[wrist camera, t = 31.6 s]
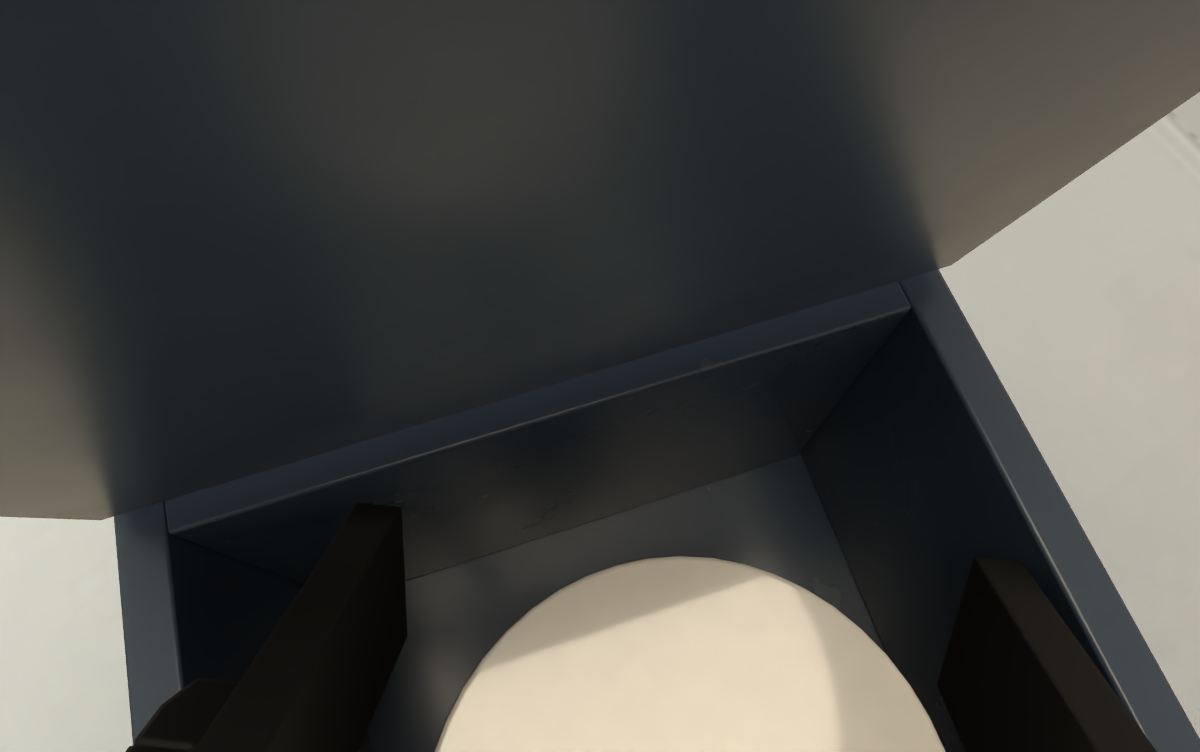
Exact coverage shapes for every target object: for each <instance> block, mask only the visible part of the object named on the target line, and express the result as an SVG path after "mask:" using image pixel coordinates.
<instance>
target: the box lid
mask: <svg viewBox="0 0 1200 752" xmlns="http://www.w3.org/2000/svg"><path fill="white" fill-rule="evenodd" d="M1198 92H1200V0H0V516H2V517H29V518H57V519H84V520H103V519H106V518H110V517H113V516H116V515H120V514H123V513H126V512H130V511H133V510H136V509H140V508H143V507H146V506H150V505H153V504H156V503H160V502H163V501H166V500H170V499H173V498H176V497H180V496H183V495H186V494H190V493H193V492H196V491H200V490H203V489H206V488H210V487H213V486H216V485H220V484H223V483H226V482H230V481H233V480H236V479H240V478H243V477H246V476H250V475H253V474H256V473H260V472H263V471H266V470H270V469H273V468H276V467H280V466H283V465H286V464H290V463H293V462H296V461H300V460H303V459H306V458H310V457H313V456H316V455H320V454H323V453H326V452H330V451H333V450H336V449H340V448H343V447H346V446H350V445H353V444H356V443H360V442H363V441H366V440H370V439H373V438H376V437H380V436H383V435H386V434H390V433H393V432H396V431H400V430H403V429H406V428H410V427H413V426H416V425H420V424H423V423H426V422H430V421H433V420H436V419H440V418H443V417H446V416H450V415H453V414H456V413H460V412H463V411H466V410H470V409H473V408H476V407H480V406H483V405H486V404H490V403H493V402H496V401H500V400H503V399H506V398H510V397H513V396H516V395H520V394H523V393H526V392H530V391H533V390H536V389H540V388H543V387H546V386H550V385H553V384H556V383H560V382H563V381H566V380H570V379H573V378H576V377H580V376H583V375H586V374H590V373H593V372H596V371H600V370H603V369H606V368H610V367H613V366H616V365H620V364H623V363H626V362H630V361H633V360H636V359H640V358H643V357H646V356H650V355H653V354H656V353H660V352H663V351H666V350H670V349H673V348H676V347H680V346H683V345H686V344H690V343H693V342H696V341H700V340H703V339H706V338H710V337H713V336H716V335H720V334H723V333H726V332H730V331H733V330H736V329H740V328H743V327H746V326H750V325H753V324H756V323H760V322H763V321H766V320H770V319H773V318H776V317H780V316H783V315H786V314H790V313H793V312H796V311H800V310H803V309H806V308H810V307H813V306H816V305H820V304H823V303H826V302H830V301H833V300H836V299H840V298H843V297H846V296H850V295H853V294H856V293H860V292H863V291H866V290H870V289H873V288H876V287H880V286H883V285H886V284H890V283H893V282H896V281H900V280H903V279H906V278H910V277H913V276H916V275H920V274H923V273H926V272H930V271H933V270H936V269H940V268H943V267H946V266H950V265H952V264H953V263H955V262H956V261H958V260H959V259H961V258H962V257H963V256H965V255H966V254H968V253H969V252H971V251H972V250H973V249H975V248H976V247H978V246H979V245H981V244H982V243H983V242H985V241H986V240H988V239H989V238H991V237H992V236H993V235H995V234H996V233H998V232H999V231H1001V230H1002V229H1003V228H1005V227H1006V226H1008V225H1009V224H1011V223H1012V222H1014V221H1015V220H1016V219H1018V218H1019V217H1021V216H1022V215H1024V214H1025V213H1026V212H1028V211H1029V210H1031V209H1032V208H1034V207H1035V206H1036V205H1038V204H1039V203H1041V202H1042V201H1044V200H1045V199H1046V198H1048V197H1049V196H1051V195H1052V194H1054V193H1055V192H1057V191H1058V190H1059V189H1061V188H1062V187H1064V186H1065V185H1067V184H1068V183H1069V182H1071V181H1072V180H1074V179H1075V178H1077V177H1078V176H1079V175H1081V174H1082V173H1084V172H1085V171H1087V170H1088V169H1089V168H1091V167H1092V166H1094V165H1095V164H1097V163H1098V162H1100V161H1101V160H1102V159H1104V158H1105V157H1107V156H1108V155H1110V154H1111V153H1112V152H1114V151H1115V150H1117V149H1118V148H1120V147H1121V146H1122V145H1124V144H1125V143H1127V142H1128V141H1130V140H1131V139H1132V138H1134V137H1135V136H1137V135H1138V134H1140V133H1141V132H1143V131H1144V130H1145V129H1147V128H1148V127H1150V126H1151V125H1153V124H1154V123H1155V122H1157V121H1158V120H1160V119H1161V118H1163V117H1164V116H1165V115H1167V114H1168V113H1170V112H1171V111H1173V110H1174V109H1175V108H1177V107H1178V106H1180V105H1181V104H1183V103H1184V102H1186V101H1187V100H1188V99H1190V98H1191V97H1193V96H1194V95H1196V94H1197V93H1198Z"/></svg>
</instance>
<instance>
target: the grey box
mask: <svg viewBox="0 0 1200 752" xmlns="http://www.w3.org/2000/svg"><path fill="white" fill-rule="evenodd" d="M357 503H364V504H375V505H387V506H398V507H402V525H403V547H404V570H405V592H406V615H407V638H406V640H405V642H404V645H403V647H402V649H401V652H400V654H399V657H398V659H397V661H396V664H395V666H394V668H393V671H392V673H391V675H390V678H389V680H388V682H387V685H386V687H385V689H384V692H383V694H382V696H381V699H380V701H379V703H378V706H377V708H376V710H375V713H374V715H373V717H372V720H371V722H370V724H369V727H368V729H367V731H366V734H365V736H364V738H363V741H362V743H361V746H360V748H359V750H358V752H434V751H435V748H436V745H437V743H438V740H439V737H440V735H441V732H442V729H443V727H444V724H445V721H446V719H447V717H448V715H449V713H450V711H451V709H452V707H453V705H454V703H455V701H456V699H457V698H458V696H459V694H460V692H461V690H462V688H463V686H464V685H465V683H466V682H467V680H468V679H469V677H470V676H471V674H472V673H473V671H474V670H475V668H476V667H477V665H478V664H479V662H480V661H481V659H482V658H483V657H484V656H485V654H486V653H487V652H488V651H489V650H490V649H491V648H492V646H493V645H494V644H495V643H496V642H497V641H498V639H499V638H500V637H501V636H502V635H503V634H504V633H505V631H506V630H508V629H509V628H510V627H511V626H512V625H513V624H514V623H515V622H517V621H518V620H519V619H520V618H521V617H522V616H523V615H524V614H525V613H527V612H528V611H529V610H530V609H531V608H533V607H534V606H535V605H537V604H538V603H540V602H541V601H543V600H544V599H546V598H547V597H548V596H550V595H551V594H553V593H554V592H556V591H557V590H559V589H561V588H563V587H565V586H567V585H569V584H571V583H573V582H574V581H576V580H578V579H580V578H582V577H584V576H586V575H589V574H592V573H594V572H597V571H600V570H603V569H606V568H608V567H611V566H614V565H617V564H621V563H626V562H631V561H636V560H640V559H645V558H653V557H666V556H679V555H680V556H698V557H713V558H718V559H723V560H729V561H734V562H739V563H744V564H747V565H750V566H753V567H756V568H759V569H762V570H765V571H768V572H771V573H774V574H777V575H779V576H781V577H783V578H785V579H787V580H789V581H791V582H794V583H796V584H798V585H800V586H802V587H804V588H806V589H807V590H809V591H811V592H812V593H814V594H815V595H817V596H819V597H820V598H822V599H823V600H825V601H826V602H828V603H830V604H831V605H833V606H834V607H836V608H837V609H838V610H839V611H840V612H842V613H843V614H844V615H845V616H847V617H848V618H849V619H850V620H852V621H853V622H854V623H855V624H856V625H858V626H859V627H860V628H861V629H862V630H863V631H864V632H865V633H866V634H867V635H868V636H869V637H870V638H871V639H872V640H873V641H874V642H875V643H876V644H877V645H878V646H879V647H880V648H881V649H882V650H883V651H884V652H885V653H886V654H887V656H888V657H889V658H890V659H891V661H892V662H893V663H894V665H895V666H896V667H897V668H898V670H899V671H900V672H901V674H902V675H903V676H904V678H905V679H906V680H907V681H908V683H909V684H910V686H911V687H912V689H913V690H914V692H915V694H916V695H917V697H918V699H919V700H920V702H921V704H922V705H923V707H924V709H925V710H926V712H927V713H928V715H929V717H930V719H931V721H932V723H933V725H934V727H935V730H936V732H937V734H938V736H939V738H940V740H941V742H942V745H943V747H944V749H945V751H946V752H966V751H965V749H964V746H963V744H962V742H961V739H960V737H959V735H958V733H957V730H956V728H955V726H954V724H953V721H952V719H951V717H950V715H949V712H948V710H947V708H946V706H945V703H944V701H943V699H942V696H941V694H940V692H939V690H938V687H937V683H938V679H939V676H940V672H941V669H942V665H943V662H944V659H945V655H946V652H947V648H948V645H949V641H950V638H951V635H952V631H953V628H954V624H955V621H956V617H957V614H958V611H959V607H960V604H961V600H962V597H963V593H964V590H965V587H966V583H967V580H968V576H969V573H970V569H971V566H972V563H973V559H974V557H978V558H990V559H1001V560H1013V561H1021V562H1022V563H1023V564H1024V566H1025V567H1026V569H1027V570H1028V571H1029V573H1030V574H1031V576H1032V577H1033V578H1034V580H1035V581H1036V583H1037V584H1038V585H1039V587H1040V588H1041V590H1042V591H1043V592H1044V594H1045V595H1046V597H1047V598H1048V599H1049V601H1050V602H1051V604H1052V605H1053V606H1054V608H1055V609H1056V611H1057V612H1058V613H1059V615H1060V616H1061V618H1062V619H1063V620H1064V622H1065V623H1066V625H1067V626H1068V627H1069V629H1070V630H1071V632H1072V633H1073V635H1074V636H1075V637H1076V639H1077V640H1078V642H1079V643H1080V644H1081V646H1082V647H1083V649H1084V650H1085V651H1086V653H1087V654H1088V656H1089V657H1090V658H1091V660H1092V661H1093V663H1094V664H1095V665H1096V667H1097V668H1098V670H1099V671H1100V672H1101V674H1102V675H1103V677H1104V678H1105V679H1106V681H1107V682H1108V684H1109V685H1110V686H1111V688H1112V689H1113V691H1114V692H1115V693H1116V695H1117V696H1118V698H1119V699H1120V700H1121V702H1122V703H1123V705H1124V706H1125V707H1126V709H1127V710H1128V712H1129V713H1130V714H1131V716H1132V717H1133V719H1134V720H1135V721H1136V723H1137V724H1138V726H1139V727H1140V728H1141V730H1142V731H1143V733H1144V734H1145V735H1146V737H1147V738H1148V740H1149V741H1150V742H1151V744H1152V745H1153V747H1154V748H1155V749H1156V751H1157V752H1200V739H1199V737H1198V735H1197V733H1196V732H1195V730H1194V728H1193V726H1192V724H1191V723H1190V721H1189V719H1188V717H1187V715H1186V714H1185V712H1184V710H1183V708H1182V707H1181V705H1180V703H1179V701H1178V699H1177V698H1176V696H1175V694H1174V692H1173V690H1172V689H1171V687H1170V685H1169V683H1168V681H1167V680H1166V678H1165V676H1164V674H1163V672H1162V671H1161V669H1160V667H1159V665H1158V663H1157V662H1156V660H1155V658H1154V656H1153V654H1152V653H1151V651H1150V649H1149V647H1148V645H1147V644H1146V642H1145V640H1144V638H1143V636H1142V635H1141V633H1140V631H1139V629H1138V627H1137V626H1136V624H1135V622H1134V620H1133V618H1132V617H1131V615H1130V613H1129V611H1128V609H1127V608H1126V606H1125V604H1124V602H1123V600H1122V599H1121V597H1120V595H1119V593H1118V591H1117V590H1116V588H1115V586H1114V584H1113V582H1112V581H1111V579H1110V577H1109V575H1108V573H1107V572H1106V570H1105V568H1104V566H1103V564H1102V563H1101V561H1100V559H1099V557H1098V555H1097V554H1096V552H1095V550H1094V548H1093V547H1092V545H1091V543H1090V541H1089V539H1088V538H1087V536H1086V534H1085V532H1084V530H1083V529H1082V527H1081V525H1080V523H1079V521H1078V520H1077V518H1076V516H1075V514H1074V512H1073V511H1072V509H1071V507H1070V505H1069V503H1068V502H1067V500H1066V498H1065V496H1064V494H1063V493H1062V491H1061V489H1060V487H1059V485H1058V484H1057V482H1056V480H1055V478H1054V476H1053V475H1052V473H1051V471H1050V469H1049V467H1048V466H1047V464H1046V462H1045V460H1044V458H1043V457H1042V455H1041V453H1040V451H1039V449H1038V448H1037V446H1036V444H1035V442H1034V440H1033V439H1032V437H1031V435H1030V433H1029V431H1028V430H1027V428H1026V426H1025V424H1024V422H1023V421H1022V419H1021V417H1020V415H1019V413H1018V412H1017V410H1016V408H1015V406H1014V404H1013V403H1012V401H1011V399H1010V397H1009V395H1008V394H1007V392H1006V390H1005V388H1004V387H1003V385H1002V383H1001V381H1000V379H999V378H998V376H997V374H996V372H995V370H994V369H993V367H992V365H991V363H990V361H989V360H988V358H987V356H986V354H985V352H984V351H983V349H982V347H981V345H980V343H979V342H978V340H977V338H976V336H975V334H974V333H973V331H972V329H971V327H970V325H969V324H968V322H967V320H966V318H965V316H964V315H963V313H962V311H961V309H960V307H959V306H958V304H957V302H956V300H955V298H954V297H953V295H952V293H951V291H950V289H949V288H948V286H947V284H946V282H945V280H944V279H943V277H942V275H941V273H940V271H939V270H938V269H936V270H933V271H930V272H926V273H923V274H920V275H916V276H913V277H910V278H906V279H903V280H900V281H896V282H893V283H890V284H886V285H883V286H880V287H876V288H873V289H870V290H866V291H863V292H860V293H856V294H853V295H850V296H846V297H843V298H840V299H836V300H833V301H830V302H826V303H823V304H820V305H816V306H813V307H810V308H806V309H803V310H800V311H796V312H793V313H790V314H786V315H783V316H780V317H776V318H773V319H770V320H766V321H763V322H760V323H756V324H753V325H750V326H746V327H743V328H740V329H736V330H733V331H730V332H726V333H723V334H720V335H716V336H713V337H710V338H706V339H703V340H700V341H696V342H693V343H690V344H686V345H683V346H680V347H676V348H673V349H670V350H666V351H663V352H660V353H656V354H653V355H650V356H646V357H643V358H640V359H636V360H633V361H630V362H626V363H623V364H620V365H616V366H613V367H610V368H606V369H603V370H600V371H596V372H593V373H590V374H586V375H583V376H580V377H576V378H573V379H570V380H566V381H563V382H560V383H556V384H553V385H550V386H546V387H543V388H540V389H536V390H533V391H530V392H526V393H523V394H520V395H516V396H513V397H510V398H506V399H503V400H500V401H496V402H493V403H490V404H486V405H483V406H480V407H476V408H473V409H470V410H466V411H463V412H460V413H456V414H453V415H450V416H446V417H443V418H440V419H436V420H433V421H430V422H426V423H423V424H420V425H416V426H413V427H410V428H406V429H403V430H400V431H396V432H393V433H390V434H386V435H383V436H380V437H376V438H373V439H370V440H366V441H363V442H360V443H356V444H353V445H350V446H346V447H343V448H340V449H336V450H333V451H330V452H326V453H323V454H320V455H316V456H313V457H310V458H306V459H303V460H300V461H296V462H293V463H290V464H286V465H283V466H280V467H276V468H273V469H270V470H266V471H263V472H260V473H256V474H253V475H250V476H246V477H243V478H240V479H236V480H233V481H230V482H226V483H223V484H220V485H216V486H213V487H210V488H206V489H203V490H200V491H196V492H193V493H190V494H186V495H183V496H180V497H176V498H173V499H170V500H166V501H163V502H160V503H156V504H153V505H150V506H146V507H143V508H140V509H136V510H133V511H130V512H126V513H123V514H120V515H116V516H114V522H115V534H116V546H117V558H118V570H119V582H120V594H121V606H122V617H123V629H124V641H125V653H126V665H127V677H128V689H129V701H130V712H131V724H132V736H133V745H134V743H135V739H136V737H137V736H138V735H139V733H140V732H141V731H142V729H143V728H144V727H145V725H146V724H147V723H148V721H149V720H150V719H151V717H152V716H153V715H154V714H155V712H156V711H157V710H158V708H159V707H160V706H161V705H162V704H163V703H164V702H166V701H167V700H168V699H170V698H171V697H172V696H174V695H175V694H176V693H178V692H179V691H180V690H182V689H183V688H184V687H186V686H187V685H188V684H190V683H191V682H192V681H194V680H195V679H196V678H198V677H201V678H211V679H221V680H231V681H240V679H241V678H242V676H243V675H244V673H245V672H246V670H247V669H248V667H249V666H250V664H251V663H252V661H253V660H254V658H255V657H256V655H257V654H258V652H259V651H260V649H261V648H262V646H263V645H264V643H265V642H266V640H267V639H268V637H269V636H270V634H271V633H272V631H273V630H274V628H275V627H276V625H277V623H278V622H279V620H280V619H281V617H282V616H283V614H284V613H285V611H286V610H287V608H288V607H289V605H290V604H291V602H292V601H293V599H294V598H295V596H296V595H297V593H298V592H299V590H300V589H301V587H302V586H303V584H304V583H305V581H306V580H307V578H308V577H309V575H310V574H311V572H312V571H313V569H314V568H315V566H316V565H317V563H318V562H319V560H320V559H321V557H322V556H323V554H324V553H325V551H326V549H327V548H328V546H329V545H330V543H331V542H332V540H333V539H334V537H335V536H336V534H337V533H338V531H339V530H340V528H341V527H342V525H343V524H344V522H345V521H346V519H347V518H348V516H349V515H350V513H351V512H352V510H353V509H354V507H355V506H356V504H357Z"/></svg>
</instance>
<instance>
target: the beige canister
mask: <svg viewBox="0 0 1200 752" xmlns="http://www.w3.org/2000/svg"><path fill="white" fill-rule="evenodd" d="M434 752H946V751H945V749H944V747H943V745H942V742H941V740H940V738H939V736H938V734H937V732H936V730H935V727H934V725H933V723H932V721H931V719H930V717H929V715H928V713H927V712H926V710H925V709H924V707H923V705H922V704H921V702H920V700H919V699H918V697H917V695H916V694H915V692H914V690H913V689H912V687H911V686H910V684H909V683H908V681H907V680H906V679H905V678H904V676H903V675H902V674H901V672H900V671H899V670H898V668H897V667H896V666H895V665H894V663H893V662H892V661H891V659H890V658H889V657H888V656H887V654H886V653H885V652H884V651H883V650H882V649H881V648H880V647H879V646H878V645H877V644H876V643H875V642H874V641H873V640H872V639H871V638H870V637H869V636H868V635H867V634H866V633H865V632H864V631H863V630H862V629H861V628H860V627H859V626H858V625H856V624H855V623H854V622H853V621H852V620H850V619H849V618H848V617H847V616H845V615H844V614H843V613H842V612H840V611H839V610H838V609H837V608H836V607H834V606H833V605H831V604H830V603H828V602H826V601H825V600H823V599H822V598H820V597H819V596H817V595H815V594H814V593H812V592H811V591H809V590H807V589H806V588H804V587H802V586H800V585H798V584H796V583H794V582H791V581H789V580H787V579H785V578H783V577H781V576H779V575H777V574H774V573H771V572H768V571H765V570H762V569H759V568H756V567H753V566H750V565H747V564H744V563H739V562H734V561H729V560H723V559H718V558H713V557H698V556H680V555H679V556H666V557H653V558H645V559H640V560H636V561H631V562H626V563H621V564H617V565H614V566H611V567H608V568H606V569H603V570H600V571H597V572H594V573H592V574H589V575H586V576H584V577H582V578H580V579H578V580H576V581H574V582H573V583H571V584H569V585H567V586H565V587H563V588H561V589H559V590H557V591H556V592H554V593H553V594H551V595H550V596H548V597H547V598H546V599H544V600H543V601H541V602H540V603H538V604H537V605H535V606H534V607H533V608H531V609H530V610H529V611H528V612H527V613H525V614H524V615H523V616H522V617H521V618H520V619H519V620H518V621H517V622H515V623H514V624H513V625H512V626H511V627H510V628H509V629H508V630H506V631H505V633H504V634H503V635H502V636H501V637H500V638H499V639H498V641H497V642H496V643H495V644H494V645H493V646H492V648H491V649H490V650H489V651H488V652H487V653H486V654H485V656H484V657H483V658H482V659H481V661H480V662H479V664H478V665H477V667H476V668H475V670H474V671H473V673H472V674H471V676H470V677H469V679H468V680H467V682H466V683H465V685H464V686H463V688H462V690H461V692H460V694H459V696H458V698H457V699H456V701H455V703H454V705H453V707H452V709H451V711H450V713H449V715H448V717H447V719H446V721H445V724H444V727H443V729H442V732H441V735H440V737H439V740H438V743H437V745H436V748H435V751H434Z"/></svg>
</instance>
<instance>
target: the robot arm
mask: <svg viewBox="0 0 1200 752" xmlns="http://www.w3.org/2000/svg"><path fill="white" fill-rule="evenodd" d="M406 638H407V615H406V592H405V570H404V547H403V525H402V507H398V506H387V505H375V504H364V503H357V504H356V506H355V507H354V509H353V510H352V512H351V513H350V515H349V516H348V518H347V519H346V521H345V522H344V524H343V525H342V527H341V528H340V530H339V531H338V533H337V534H336V536H335V537H334V539H333V540H332V542H331V543H330V545H329V546H328V548H327V549H326V551H325V553H324V554H323V556H322V557H321V559H320V560H319V562H318V563H317V565H316V566H315V568H314V569H313V571H312V572H311V574H310V575H309V577H308V578H307V580H306V581H305V583H304V584H303V586H302V587H301V589H300V590H299V592H298V593H297V595H296V596H295V598H294V599H293V601H292V602H291V604H290V605H289V607H288V608H287V610H286V611H285V613H284V614H283V616H282V617H281V619H280V620H279V622H278V623H277V625H276V627H275V628H274V630H273V631H272V633H271V634H270V636H269V637H268V639H267V640H266V642H265V643H264V645H263V646H262V648H261V649H260V651H259V652H258V654H257V655H256V657H255V658H254V660H253V661H252V663H251V664H250V666H249V667H248V669H247V670H246V672H245V673H244V675H243V676H242V678H241V679H240V681H231V680H221V679H211V678H201V677H198V678H196V679H195V680H194V681H192V682H191V683H190V684H188V685H187V686H186V687H184V688H183V689H182V690H180V691H179V692H178V693H176V694H175V695H174V696H172V697H171V698H170V699H168V700H167V701H166V702H164V703H163V704H162V705H161V706H160V707H159V708H158V710H157V711H156V712H155V714H154V715H153V716H152V717H151V719H150V720H149V721H148V723H147V724H146V725H145V727H144V728H143V729H142V731H141V732H140V733H139V735H138V736H137V737H136V739H135V743H134V745H133V746H130V747H129V748H128V749H127V750H126V752H358V750H359V748H360V746H361V743H362V741H363V738H364V736H365V734H366V731H367V729H368V727H369V724H370V722H371V720H372V717H373V715H374V713H375V710H376V708H377V706H378V703H379V701H380V699H381V696H382V694H383V692H384V689H385V687H386V685H387V682H388V680H389V678H390V675H391V673H392V671H393V668H394V666H395V664H396V661H397V659H398V657H399V654H400V652H401V649H402V647H403V645H404V642H405V640H406ZM937 687H938V690H939V692H940V694H941V696H942V699H943V701H944V703H945V706H946V708H947V710H948V712H949V715H950V717H951V719H952V721H953V724H954V726H955V728H956V730H957V733H958V735H959V737H960V739H961V742H962V744H963V746H964V749H965V751H966V752H1157V751H1156V749H1155V748H1154V747H1153V745H1152V744H1151V742H1150V741H1149V740H1148V738H1147V737H1146V735H1145V734H1144V733H1143V731H1142V730H1141V728H1140V727H1139V726H1138V724H1137V723H1136V721H1135V720H1134V719H1133V717H1132V716H1131V714H1130V713H1129V712H1128V710H1127V709H1126V707H1125V706H1124V705H1123V703H1122V702H1121V700H1120V699H1119V698H1118V696H1117V695H1116V693H1115V692H1114V691H1113V689H1112V688H1111V686H1110V685H1109V684H1108V682H1107V681H1106V679H1105V678H1104V677H1103V675H1102V674H1101V672H1100V671H1099V670H1098V668H1097V667H1096V665H1095V664H1094V663H1093V661H1092V660H1091V658H1090V657H1089V656H1088V654H1087V653H1086V651H1085V650H1084V649H1083V647H1082V646H1081V644H1080V643H1079V642H1078V640H1077V639H1076V637H1075V636H1074V635H1073V633H1072V632H1071V630H1070V629H1069V627H1068V626H1067V625H1066V623H1065V622H1064V620H1063V619H1062V618H1061V616H1060V615H1059V613H1058V612H1057V611H1056V609H1055V608H1054V606H1053V605H1052V604H1051V602H1050V601H1049V599H1048V598H1047V597H1046V595H1045V594H1044V592H1043V591H1042V590H1041V588H1040V587H1039V585H1038V584H1037V583H1036V581H1035V580H1034V578H1033V577H1032V576H1031V574H1030V573H1029V571H1028V570H1027V569H1026V567H1025V566H1024V564H1023V563H1022V562H1021V561H1013V560H1001V559H990V558H978V557H974V559H973V563H972V566H971V569H970V573H969V576H968V580H967V583H966V587H965V590H964V593H963V597H962V600H961V604H960V607H959V611H958V614H957V617H956V621H955V624H954V628H953V631H952V635H951V638H950V641H949V645H948V648H947V652H946V655H945V659H944V662H943V665H942V669H941V672H940V676H939V679H938V683H937Z"/></svg>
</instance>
